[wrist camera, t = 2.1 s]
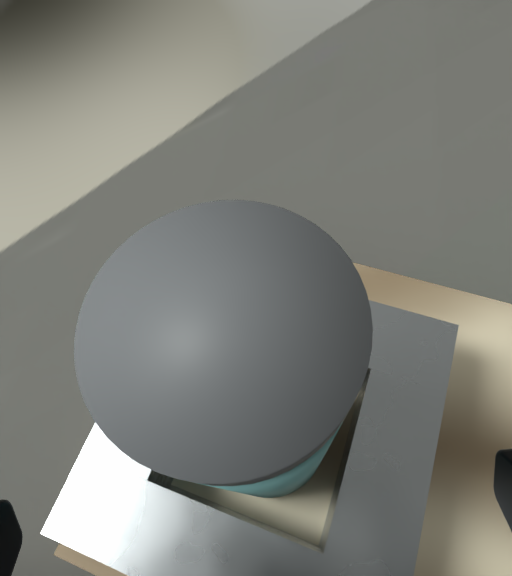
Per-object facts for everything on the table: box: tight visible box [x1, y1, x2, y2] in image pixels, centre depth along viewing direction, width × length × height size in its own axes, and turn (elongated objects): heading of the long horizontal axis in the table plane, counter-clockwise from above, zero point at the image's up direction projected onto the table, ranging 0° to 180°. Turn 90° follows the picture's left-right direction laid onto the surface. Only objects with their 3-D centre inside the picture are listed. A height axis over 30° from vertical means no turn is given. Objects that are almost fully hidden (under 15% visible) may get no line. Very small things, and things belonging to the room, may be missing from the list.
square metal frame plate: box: [40, 300, 459, 576], centre depth 16 cm, size 11×11×3 cm
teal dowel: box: [74, 200, 373, 498], centre depth 12 cm, size 4×4×12 cm
